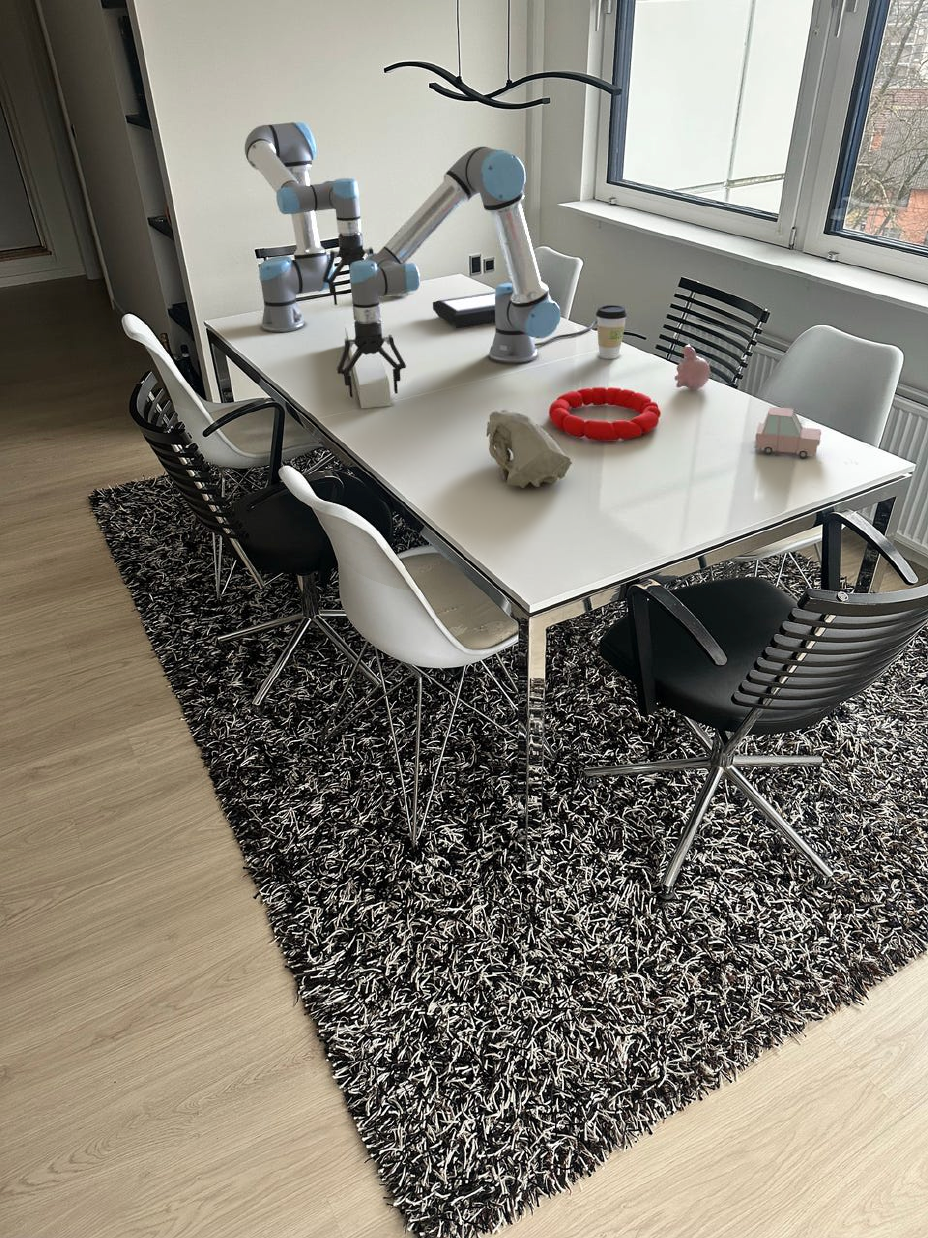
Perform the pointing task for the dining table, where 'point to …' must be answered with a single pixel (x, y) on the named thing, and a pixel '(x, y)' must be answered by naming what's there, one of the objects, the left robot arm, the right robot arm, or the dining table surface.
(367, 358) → the wide beam
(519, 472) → the animal skull
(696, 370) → the figurine
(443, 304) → the electronic device
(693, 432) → the dining table surface
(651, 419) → the decorative ring
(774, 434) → the toy car
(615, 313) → the coffee cup
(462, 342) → the dining table surface
